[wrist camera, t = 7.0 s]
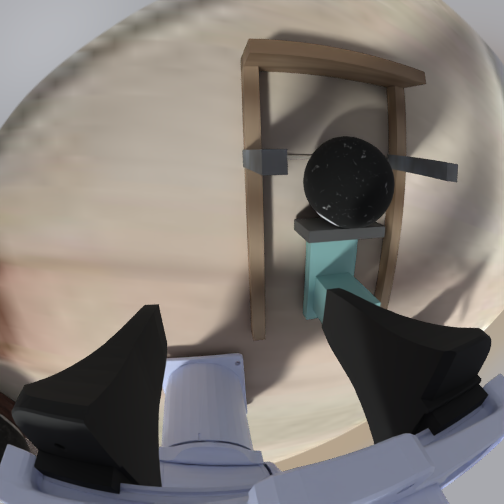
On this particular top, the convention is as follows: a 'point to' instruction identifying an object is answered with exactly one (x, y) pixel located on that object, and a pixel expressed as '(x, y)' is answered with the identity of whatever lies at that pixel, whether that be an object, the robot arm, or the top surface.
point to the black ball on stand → (9, 427)
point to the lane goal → (275, 160)
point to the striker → (331, 261)
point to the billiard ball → (349, 182)
